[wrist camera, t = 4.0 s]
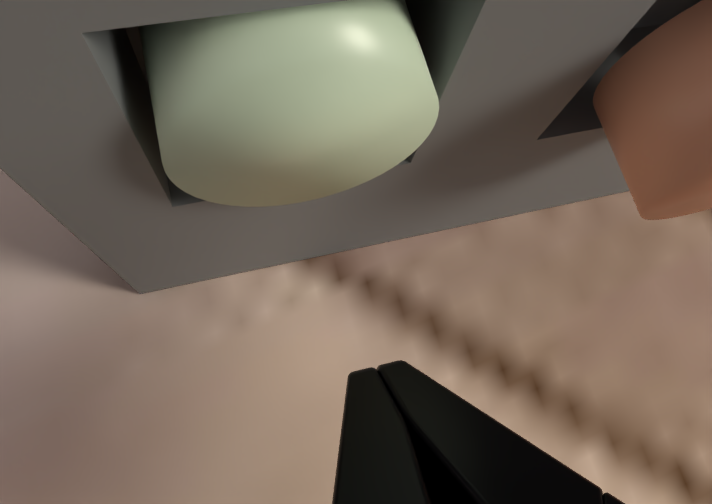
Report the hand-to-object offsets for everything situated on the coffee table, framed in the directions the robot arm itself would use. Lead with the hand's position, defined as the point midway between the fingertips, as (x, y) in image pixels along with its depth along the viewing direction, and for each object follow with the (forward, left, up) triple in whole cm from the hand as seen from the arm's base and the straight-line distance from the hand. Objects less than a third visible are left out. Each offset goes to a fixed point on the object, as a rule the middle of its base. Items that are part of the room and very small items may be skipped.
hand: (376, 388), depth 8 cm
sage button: (+5, 0, -2) cm, 5 cm away
